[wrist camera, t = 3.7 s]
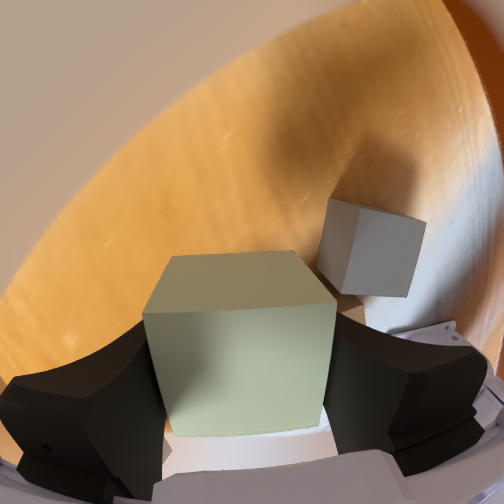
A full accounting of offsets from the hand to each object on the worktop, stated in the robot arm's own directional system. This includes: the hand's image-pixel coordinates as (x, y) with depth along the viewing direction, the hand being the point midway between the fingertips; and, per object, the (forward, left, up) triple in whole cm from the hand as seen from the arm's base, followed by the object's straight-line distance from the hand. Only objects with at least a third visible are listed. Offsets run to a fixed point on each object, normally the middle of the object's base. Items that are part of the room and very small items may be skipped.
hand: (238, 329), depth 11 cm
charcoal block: (-9, -1, -10) cm, 13 cm away
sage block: (0, 0, -2) cm, 2 cm away
